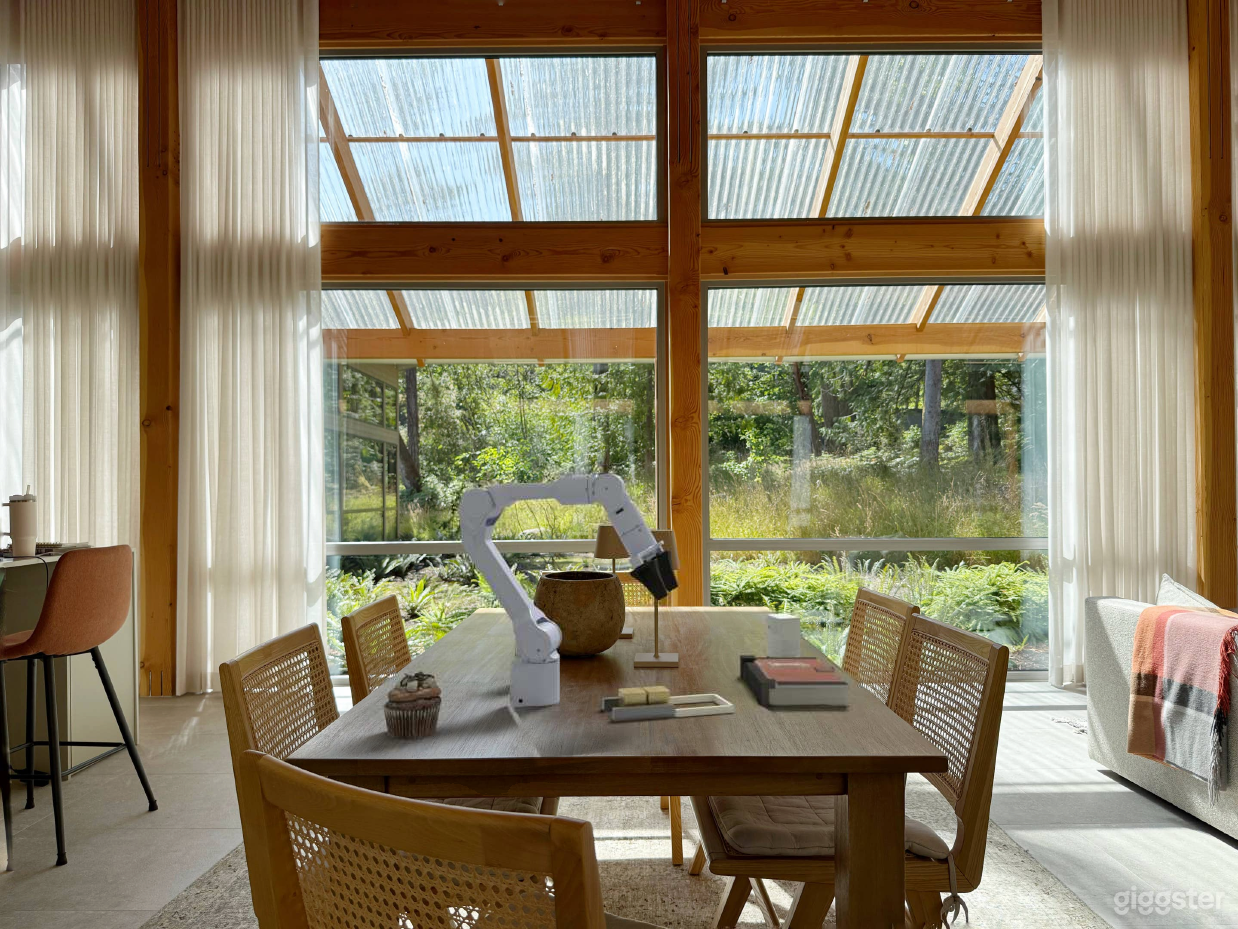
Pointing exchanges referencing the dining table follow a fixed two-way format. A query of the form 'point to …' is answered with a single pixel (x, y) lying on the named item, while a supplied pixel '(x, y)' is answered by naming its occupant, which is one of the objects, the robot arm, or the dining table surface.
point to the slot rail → (635, 710)
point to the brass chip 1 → (632, 697)
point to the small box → (783, 635)
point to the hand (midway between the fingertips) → (668, 593)
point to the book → (793, 681)
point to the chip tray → (723, 708)
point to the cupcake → (413, 707)
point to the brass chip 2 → (657, 695)
